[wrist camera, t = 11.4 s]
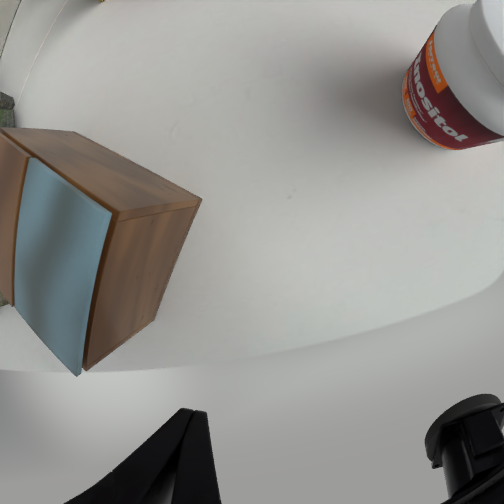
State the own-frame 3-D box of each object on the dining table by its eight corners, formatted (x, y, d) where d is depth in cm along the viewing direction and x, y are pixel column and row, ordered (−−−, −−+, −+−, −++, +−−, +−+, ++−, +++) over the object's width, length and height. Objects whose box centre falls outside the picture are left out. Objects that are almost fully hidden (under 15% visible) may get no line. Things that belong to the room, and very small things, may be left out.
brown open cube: (202, 198, 20) (106, 214, 11) (154, 320, 23) (77, 378, 14) (74, 131, 22) (-10, 127, 13) (49, 235, 25) (-24, 255, 16)
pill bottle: (380, 80, 15) (420, -24, 4) (448, 52, 13) (517, -32, 2) (430, 167, 15) (535, 153, 5) (495, 133, 13) (603, 106, 3)
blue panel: (112, 213, 11) (104, 214, 11) (81, 373, 15) (76, 377, 14) (35, 157, 12) (29, 157, 12) (19, 305, 16) (14, 307, 15)
